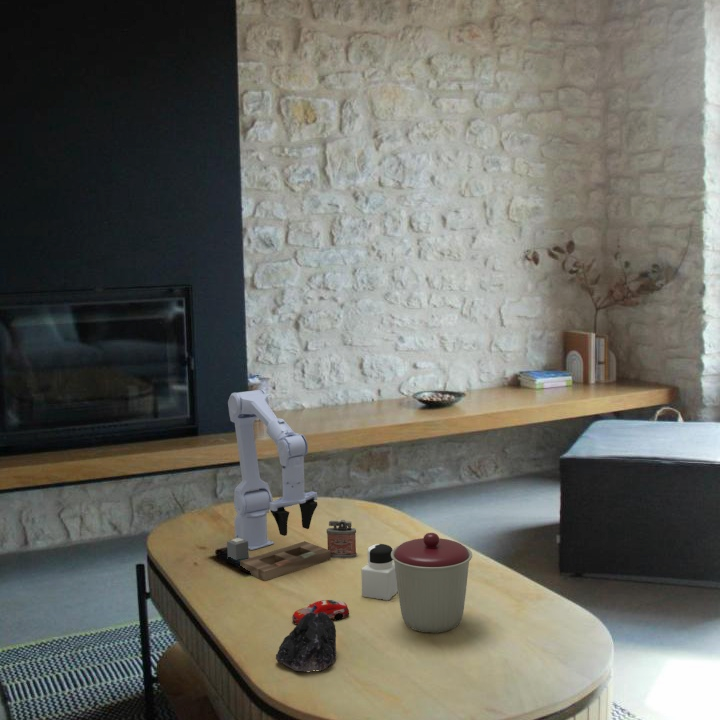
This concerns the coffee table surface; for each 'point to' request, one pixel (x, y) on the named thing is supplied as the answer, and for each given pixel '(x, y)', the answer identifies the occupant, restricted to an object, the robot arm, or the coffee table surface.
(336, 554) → the lighter
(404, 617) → the canister
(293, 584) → the coffee table surface
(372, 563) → the medicine bottle
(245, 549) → the plug
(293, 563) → the socket board
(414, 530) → the coffee table surface
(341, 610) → the race car
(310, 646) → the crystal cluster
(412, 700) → the coffee table surface
